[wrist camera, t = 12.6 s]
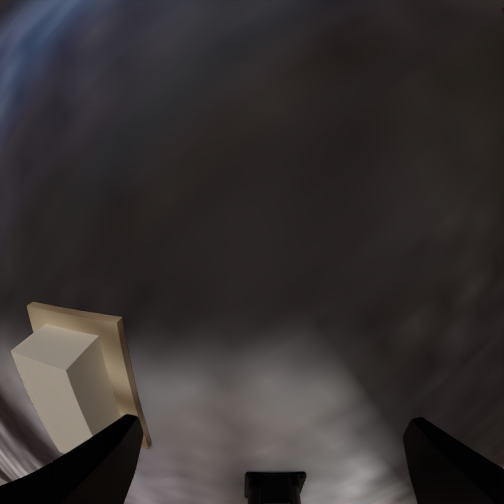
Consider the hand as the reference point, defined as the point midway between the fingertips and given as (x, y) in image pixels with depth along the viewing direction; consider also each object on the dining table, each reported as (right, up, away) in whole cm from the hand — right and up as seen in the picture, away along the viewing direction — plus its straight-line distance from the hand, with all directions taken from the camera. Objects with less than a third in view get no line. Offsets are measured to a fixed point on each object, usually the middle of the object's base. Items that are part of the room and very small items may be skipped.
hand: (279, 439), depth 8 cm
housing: (-16, -6, +13) cm, 22 cm away
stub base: (-16, -6, +14) cm, 22 cm away
